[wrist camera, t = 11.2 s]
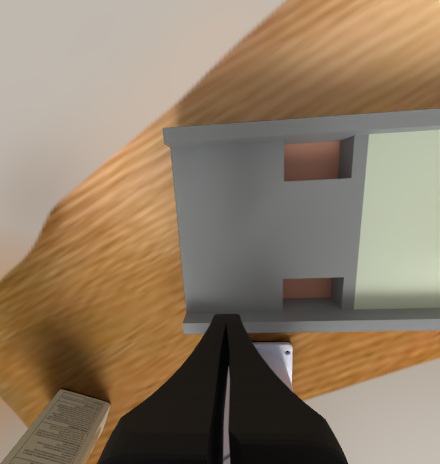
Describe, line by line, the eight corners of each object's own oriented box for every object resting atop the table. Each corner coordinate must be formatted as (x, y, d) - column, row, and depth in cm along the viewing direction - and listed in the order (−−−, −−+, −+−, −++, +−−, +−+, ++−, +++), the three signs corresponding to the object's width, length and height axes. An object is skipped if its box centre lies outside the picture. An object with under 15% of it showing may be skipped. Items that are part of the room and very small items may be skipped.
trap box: (474, 301, 20) (541, 333, 16) (192, 307, 22) (182, 338, 18) (514, 117, 17) (614, 93, 13) (177, 139, 18) (160, 126, 14)
